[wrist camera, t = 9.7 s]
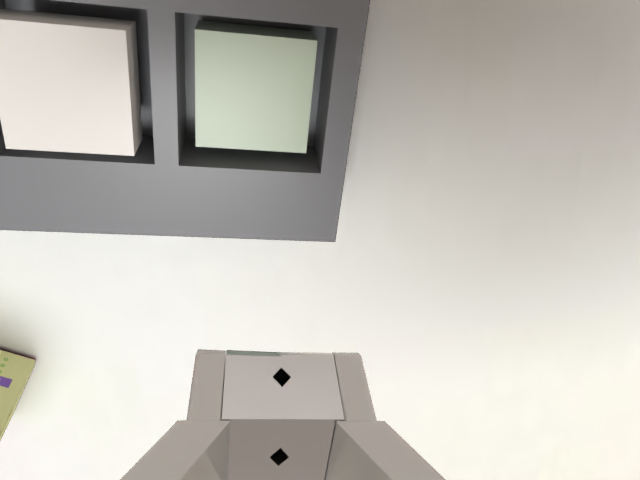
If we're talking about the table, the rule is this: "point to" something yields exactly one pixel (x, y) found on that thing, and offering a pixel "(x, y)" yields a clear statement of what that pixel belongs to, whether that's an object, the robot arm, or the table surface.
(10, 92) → the key grey
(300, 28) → the keyboard
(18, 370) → the box
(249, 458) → the robot arm
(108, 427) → the table surface
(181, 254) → the table surface
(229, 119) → the key sage
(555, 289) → the table surface
